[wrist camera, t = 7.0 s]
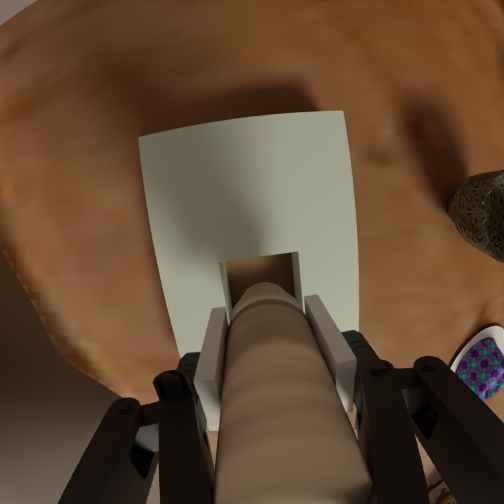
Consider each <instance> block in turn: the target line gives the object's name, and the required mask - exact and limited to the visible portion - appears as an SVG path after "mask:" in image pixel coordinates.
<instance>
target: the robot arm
mask: <svg viewBox="0 0 504 504" xmlns="http://www.w3.org/2000/svg"><path fill="white" fill-rule="evenodd" d="M304 304H305V314H306V316H307V317H308V319H309V321H310V324H311V326H312V332H313V335H314V337H315V339H316V342H317V344H318V346H319V349H320V351H321V353H322V356H323V358H324V360H325V363H326V365H327V367H328V370H329V372H330V374H331V377H332V379H333V382H334V384H335V386H336V389H337V391H338V394H339V396H340V398H341V401H342V403H343V406H344V408H345V411H346V413H347V412H352V411H353V403H354V404H355V406H356V408H357V413H356V421H355V429H357V434H358V443H359V445H360V448H361V450H362V453H363V455H364V458H365V460H366V463H367V465H368V468H369V470H370V473H371V476H372V480H373V485H372V488H371V491H370V494H369V496H368V499H367V502H366V504H430V498H429V493H428V488H427V483H426V479H425V474H424V470H423V465H422V461H421V457H420V453H419V449H418V445H417V441H416V438H415V435H416V437H417V438H418V440H419V441H420V443H421V445H422V446H423V448H424V449H425V451H426V453H427V454H428V456H429V457H430V459H431V461H432V462H433V464H434V465H435V467H436V469H437V470H438V472H439V474H440V475H441V477H442V479H443V480H444V482H445V484H446V485H447V487H448V489H449V490H450V492H451V494H452V495H453V497H454V499H455V500H456V502H457V504H504V423H503V422H502V421H501V420H500V419H499V418H498V417H497V415H496V414H495V413H494V412H493V411H492V410H491V409H490V408H489V407H488V406H487V405H486V404H485V403H484V402H483V401H482V400H481V399H480V398H479V397H478V396H477V395H476V394H475V393H474V392H473V390H472V389H471V388H470V387H469V386H468V385H467V384H466V383H465V382H464V381H463V380H462V379H461V378H460V377H459V376H458V375H457V374H456V373H455V372H454V371H453V370H451V369H450V368H449V367H448V366H447V365H446V364H445V363H444V362H443V361H442V360H441V359H439V358H437V357H434V356H424V357H420V358H419V359H417V360H416V361H415V362H414V366H413V368H403V369H397V368H394V367H393V365H392V364H391V363H390V362H388V361H385V360H381V359H379V357H378V356H377V355H376V353H375V352H374V350H373V349H372V348H371V346H370V345H369V343H368V342H367V341H366V339H365V338H364V336H363V335H362V334H361V333H359V332H357V331H356V330H350V331H344V332H340V330H339V329H338V327H337V325H336V324H335V322H334V320H333V319H332V317H331V316H330V314H329V312H328V311H327V309H326V307H325V306H324V304H323V303H322V301H321V299H320V298H319V296H318V295H317V294H316V295H309V296H304ZM228 327H229V323H228V318H227V312H226V307H218V308H212V310H211V314H210V317H209V321H208V325H207V329H206V333H205V337H204V341H203V345H202V349H201V352H190V353H186V354H185V355H184V356H183V357H182V358H181V359H180V362H179V364H178V367H177V370H169V371H165V372H162V373H161V374H159V375H157V376H156V377H155V378H154V381H153V384H154V387H155V389H156V392H157V395H158V397H159V401H157V402H154V403H151V404H146V405H140V403H139V401H138V400H136V399H135V398H130V397H128V398H122V399H119V400H117V401H115V402H114V403H113V404H112V405H111V406H110V407H109V409H108V411H107V413H106V414H105V416H104V418H103V419H102V421H101V423H100V425H99V426H98V428H97V430H96V432H95V434H94V436H93V437H92V439H91V441H90V443H89V445H88V447H87V448H86V450H85V452H84V454H83V456H82V457H81V459H80V461H79V463H78V465H77V467H76V469H75V471H74V473H73V475H72V476H71V479H70V480H69V482H68V484H67V486H66V488H65V490H64V492H63V494H62V496H61V498H60V500H59V502H58V504H146V501H147V498H148V494H149V490H150V487H151V484H152V481H153V477H154V474H155V470H156V467H157V464H158V461H159V487H160V504H213V486H214V475H215V470H214V465H213V460H212V455H211V450H210V445H209V440H208V436H207V433H206V425H208V428H209V431H216V430H219V420H220V410H221V400H222V390H223V380H224V370H225V361H226V351H227V341H226V336H227V330H228Z"/></svg>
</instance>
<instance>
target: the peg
mask: <svg viewBox="0 0 504 504" xmlns="http://www.w3.org/2000/svg"><path fill="white" fill-rule="evenodd" d="M226 341H227V351H226V361H225V370H224V380H223V390H222V400H221V410H220V420H219V431H218V441H217V452H216V463H215V475H214V486H213V504H366V502H367V499H368V496H369V494H370V491H371V488H372V485H373V480H372V476H371V473H370V470H369V468H368V465H367V463H366V460H365V458H364V455H363V453H362V450H361V448H360V445H359V443H358V440H357V438H356V435H355V433H354V430H353V428H352V425H351V423H350V420H349V418H348V415H347V413H346V411H345V408H344V406H343V403H342V401H341V398H340V396H339V394H338V391H337V389H336V386H335V384H334V382H333V379H332V377H331V374H330V372H329V370H328V367H327V365H326V363H325V360H324V358H323V356H322V353H321V351H320V349H319V346H318V344H317V342H316V339H315V337H314V335H313V332H312V326H311V324H310V321H309V319H308V317H307V316H306V314H305V313H304V312H303V309H302V307H301V305H300V304H299V302H298V301H297V300H296V299H295V298H294V297H293V296H292V295H290V294H288V293H286V292H285V291H284V289H282V288H281V287H280V286H278V285H276V284H273V283H269V282H262V283H257V284H255V285H252V286H251V287H249V288H248V289H247V290H246V291H245V292H244V294H243V295H242V297H241V299H240V300H239V301H238V302H237V304H236V305H235V307H234V308H233V310H232V313H231V317H230V324H229V327H228V330H227V336H226Z"/></svg>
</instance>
